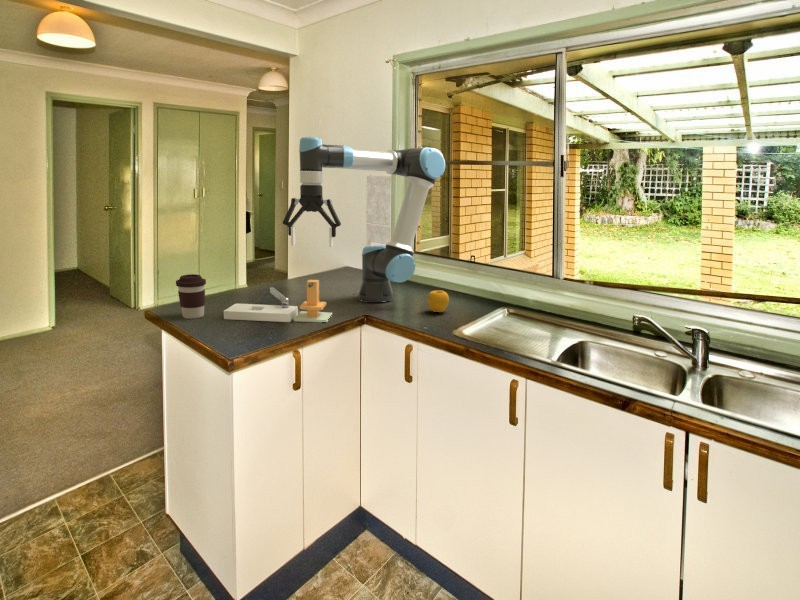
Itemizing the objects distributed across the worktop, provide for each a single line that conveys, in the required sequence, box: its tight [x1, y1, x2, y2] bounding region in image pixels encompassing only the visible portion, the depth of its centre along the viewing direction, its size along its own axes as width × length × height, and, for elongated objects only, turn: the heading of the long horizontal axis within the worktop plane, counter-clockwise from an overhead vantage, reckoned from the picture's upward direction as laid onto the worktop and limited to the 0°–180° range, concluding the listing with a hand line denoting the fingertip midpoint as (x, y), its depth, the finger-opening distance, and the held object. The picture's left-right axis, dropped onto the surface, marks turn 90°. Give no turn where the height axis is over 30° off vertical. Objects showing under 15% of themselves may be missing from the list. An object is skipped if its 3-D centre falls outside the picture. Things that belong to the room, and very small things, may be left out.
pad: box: [292, 310, 333, 323], centre depth 184 cm, size 12×10×1 cm
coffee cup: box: [175, 273, 207, 320], centre depth 181 cm, size 10×10×15 cm
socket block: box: [223, 302, 299, 323], centre depth 184 cm, size 24×11×4 cm, turn 86°
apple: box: [427, 289, 450, 313], centre depth 196 cm, size 9×8×9 cm
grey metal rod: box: [269, 286, 290, 305], centre depth 193 cm, size 21×3×2 cm, turn 29°
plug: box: [299, 279, 327, 317], centre depth 182 cm, size 8×9×13 cm
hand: (312, 245), depth 178 cm, fingers open, 13 cm apart
